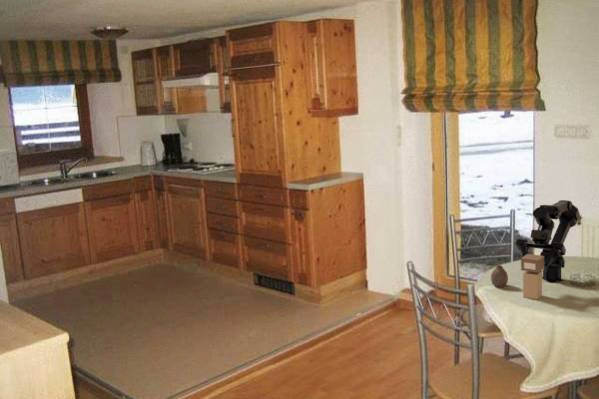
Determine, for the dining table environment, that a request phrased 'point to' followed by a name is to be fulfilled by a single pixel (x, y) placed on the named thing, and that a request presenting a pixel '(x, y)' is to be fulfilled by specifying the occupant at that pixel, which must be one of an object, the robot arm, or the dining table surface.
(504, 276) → the vase
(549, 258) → the robot arm
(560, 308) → the dining table surface
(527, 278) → the mailer box
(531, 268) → the lid
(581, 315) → the dining table surface
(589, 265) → the dining table surface
